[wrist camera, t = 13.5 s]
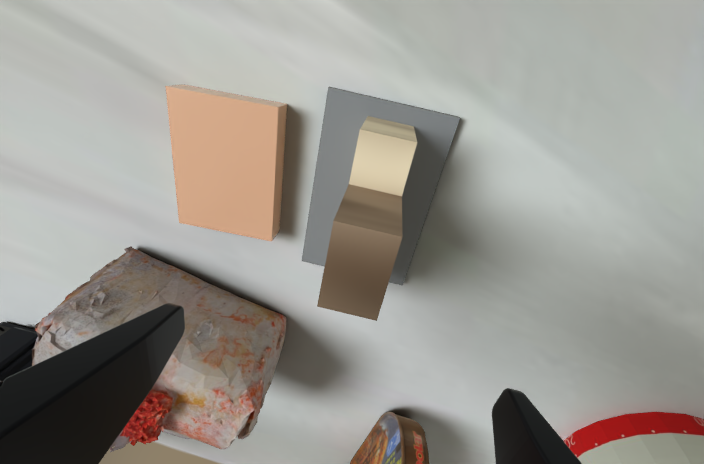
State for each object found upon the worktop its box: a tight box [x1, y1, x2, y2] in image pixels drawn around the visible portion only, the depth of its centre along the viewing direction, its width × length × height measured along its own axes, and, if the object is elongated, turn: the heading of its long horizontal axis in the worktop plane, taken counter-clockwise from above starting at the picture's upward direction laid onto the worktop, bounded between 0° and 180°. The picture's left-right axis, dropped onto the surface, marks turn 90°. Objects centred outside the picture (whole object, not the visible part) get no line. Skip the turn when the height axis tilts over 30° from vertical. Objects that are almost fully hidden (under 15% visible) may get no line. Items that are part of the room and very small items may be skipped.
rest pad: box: [302, 87, 460, 285], centre depth 20 cm, size 11×7×1 cm, turn 169°
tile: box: [166, 85, 287, 241], centre depth 20 cm, size 8×2×6 cm
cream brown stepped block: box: [317, 116, 417, 321], centre depth 16 cm, size 9×2×8 cm, turn 169°
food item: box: [32, 246, 286, 452], centre depth 22 cm, size 14×8×10 cm, turn 64°
